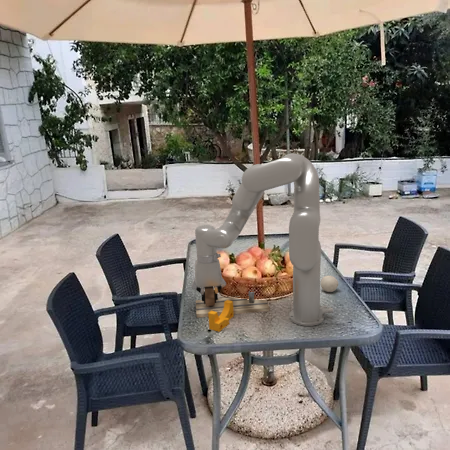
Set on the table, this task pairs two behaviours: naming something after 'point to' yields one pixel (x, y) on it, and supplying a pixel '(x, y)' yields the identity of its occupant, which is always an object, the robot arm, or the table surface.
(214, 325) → the pipe clamp
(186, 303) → the table surface
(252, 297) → the fixed leg
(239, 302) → the board
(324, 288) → the baseball
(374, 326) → the table surface
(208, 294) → the block
